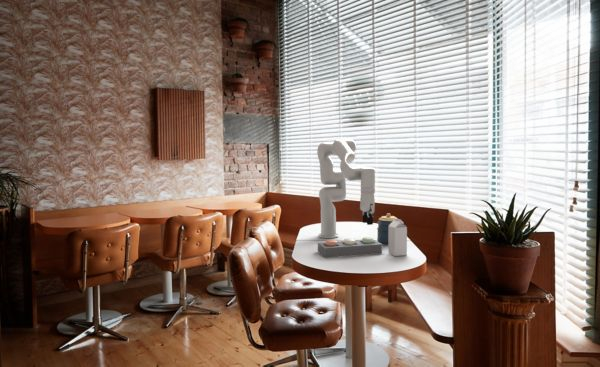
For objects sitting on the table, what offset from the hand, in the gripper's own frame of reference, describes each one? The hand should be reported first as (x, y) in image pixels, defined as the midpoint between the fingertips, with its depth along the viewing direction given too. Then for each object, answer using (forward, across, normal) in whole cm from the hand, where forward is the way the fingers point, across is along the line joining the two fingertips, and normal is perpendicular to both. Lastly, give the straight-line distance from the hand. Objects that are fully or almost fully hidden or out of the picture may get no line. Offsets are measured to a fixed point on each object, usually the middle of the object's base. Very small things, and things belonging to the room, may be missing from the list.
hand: (367, 223), depth 229 cm
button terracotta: (+11, 0, -21) cm, 24 cm away
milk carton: (+16, +10, +12) cm, 23 cm away
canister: (+16, -16, +20) cm, 29 cm away
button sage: (+11, 0, 0) cm, 11 cm away
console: (+15, 0, -10) cm, 19 cm away
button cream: (+11, 0, -10) cm, 15 cm away
